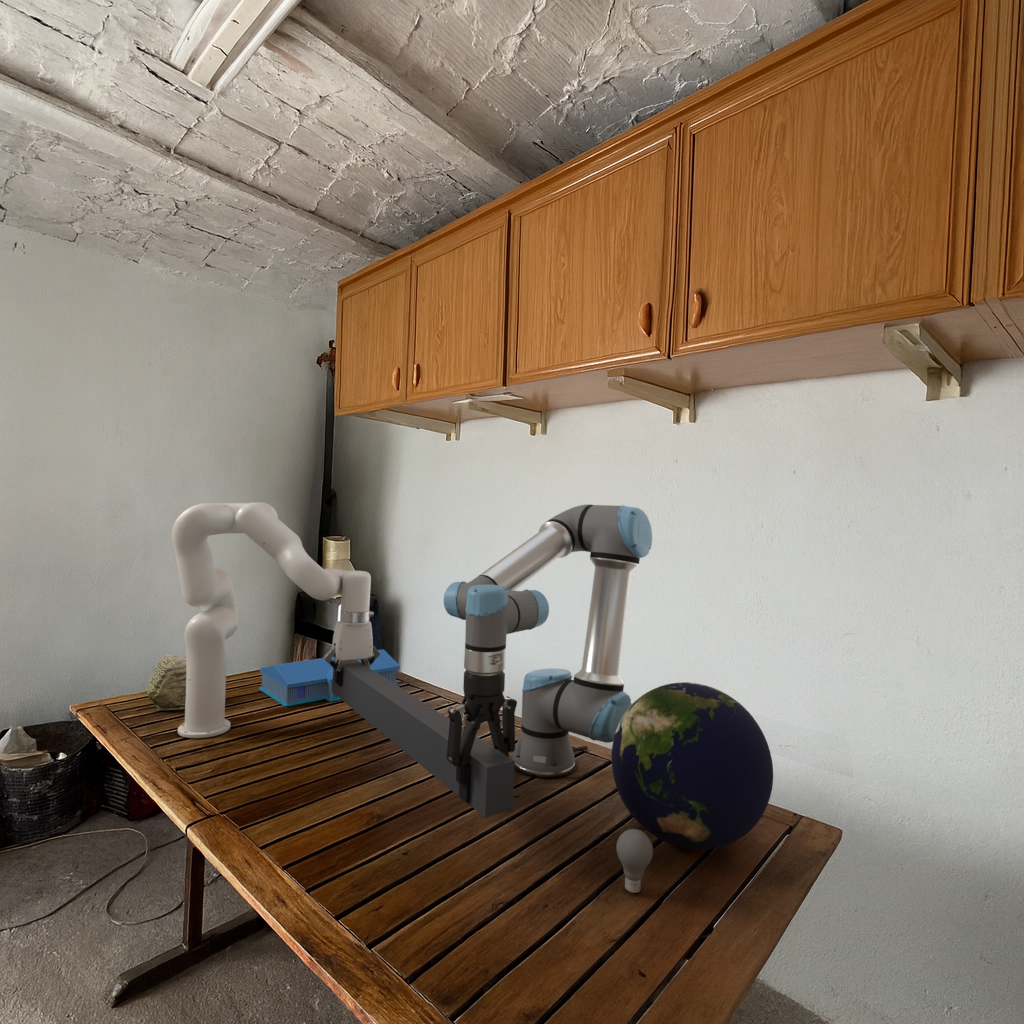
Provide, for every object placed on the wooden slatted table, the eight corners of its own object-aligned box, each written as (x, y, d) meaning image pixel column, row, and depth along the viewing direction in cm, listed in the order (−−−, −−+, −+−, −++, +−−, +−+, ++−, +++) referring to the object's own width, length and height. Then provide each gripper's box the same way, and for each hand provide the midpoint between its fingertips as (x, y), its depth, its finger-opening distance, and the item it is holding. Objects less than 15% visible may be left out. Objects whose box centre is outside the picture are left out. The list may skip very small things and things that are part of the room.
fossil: (144, 707, 182) (145, 655, 182) (212, 696, 194) (213, 647, 194) (151, 716, 175) (153, 662, 175) (221, 703, 188) (223, 653, 188)
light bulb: (610, 879, 108) (613, 822, 108) (644, 879, 109) (647, 822, 109) (619, 902, 102) (622, 840, 102) (655, 901, 103) (658, 840, 103)
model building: (289, 709, 186) (291, 675, 185) (258, 688, 204) (259, 657, 204) (403, 687, 212) (405, 657, 212) (366, 670, 230) (368, 643, 230)
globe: (590, 859, 114) (598, 694, 114) (625, 791, 142) (631, 658, 142) (768, 905, 103) (778, 722, 103) (769, 822, 131) (776, 678, 130)
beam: (332, 691, 174) (333, 660, 174) (352, 689, 177) (353, 657, 177) (484, 817, 109) (487, 767, 109) (512, 809, 113) (514, 760, 112)
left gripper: (379, 612, 178) (376, 676, 178) (318, 616, 168) (314, 683, 169) (390, 617, 172) (386, 683, 172) (327, 621, 162) (323, 691, 163)
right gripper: (448, 683, 107) (443, 817, 108) (538, 669, 118) (533, 791, 119) (428, 671, 113) (424, 799, 114) (515, 659, 124) (511, 775, 125)
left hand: (351, 683), depth 170 cm, fingers closed on beam, 5 cm apart
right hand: (480, 794), depth 116 cm, fingers closed on beam, 6 cm apart
